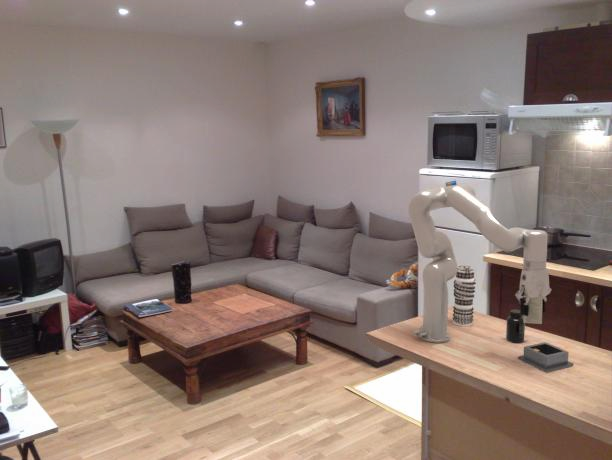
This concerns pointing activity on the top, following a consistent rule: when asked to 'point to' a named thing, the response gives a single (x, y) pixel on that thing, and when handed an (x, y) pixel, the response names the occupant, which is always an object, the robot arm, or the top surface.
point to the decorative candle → (464, 296)
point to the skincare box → (534, 310)
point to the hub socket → (545, 357)
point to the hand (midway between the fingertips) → (532, 312)
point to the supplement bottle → (515, 327)
